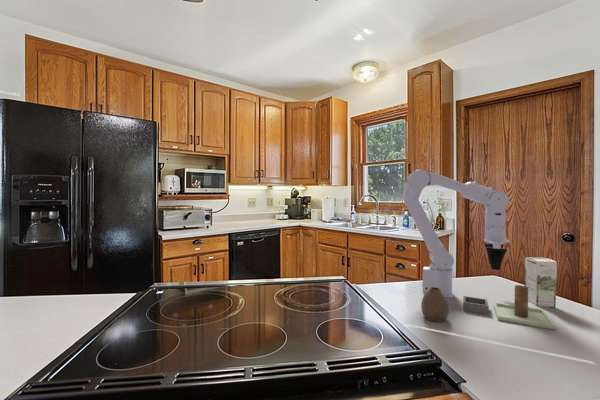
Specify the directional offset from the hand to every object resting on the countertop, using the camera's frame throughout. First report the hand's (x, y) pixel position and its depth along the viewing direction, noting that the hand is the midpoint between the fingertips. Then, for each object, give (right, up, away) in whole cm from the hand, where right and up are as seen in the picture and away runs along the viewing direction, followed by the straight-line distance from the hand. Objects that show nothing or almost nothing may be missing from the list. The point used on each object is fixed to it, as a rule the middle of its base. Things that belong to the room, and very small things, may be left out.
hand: (494, 267), depth 98 cm
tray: (-3, -11, -16) cm, 20 cm away
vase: (-28, -11, -18) cm, 35 cm away
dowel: (-3, -10, -16) cm, 19 cm away
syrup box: (+11, -11, -6) cm, 16 cm away
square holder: (-13, -11, -11) cm, 20 cm away
